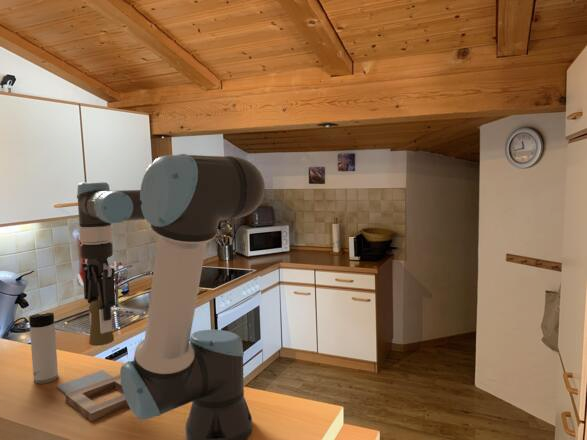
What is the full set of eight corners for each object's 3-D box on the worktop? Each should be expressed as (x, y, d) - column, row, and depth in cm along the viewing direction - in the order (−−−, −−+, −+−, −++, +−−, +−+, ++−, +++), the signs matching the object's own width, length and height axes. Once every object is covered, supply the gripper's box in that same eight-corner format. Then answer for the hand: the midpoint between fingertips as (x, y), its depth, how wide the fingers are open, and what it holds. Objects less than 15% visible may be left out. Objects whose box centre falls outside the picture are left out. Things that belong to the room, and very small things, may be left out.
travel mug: (32, 386, 124) (27, 317, 122) (35, 376, 130) (30, 311, 128) (57, 381, 127) (52, 314, 125) (58, 372, 133) (54, 308, 131)
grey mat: (116, 380, 127) (116, 378, 127) (70, 397, 117) (69, 395, 117) (102, 371, 133) (102, 370, 133) (56, 387, 123) (56, 385, 123)
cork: (117, 336, 118) (115, 297, 117) (108, 345, 112) (106, 303, 111) (94, 337, 118) (92, 297, 117) (85, 345, 112) (82, 304, 111)
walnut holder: (147, 397, 117) (147, 390, 117) (91, 421, 106) (90, 413, 105) (120, 381, 127) (119, 374, 126) (65, 401, 115) (65, 394, 115)
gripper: (127, 243, 110) (131, 333, 112) (94, 237, 122) (99, 318, 124) (98, 247, 104) (103, 341, 106) (66, 240, 116) (71, 325, 118)
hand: (101, 329), depth 115 cm, fingers closed on cork, 5 cm apart
